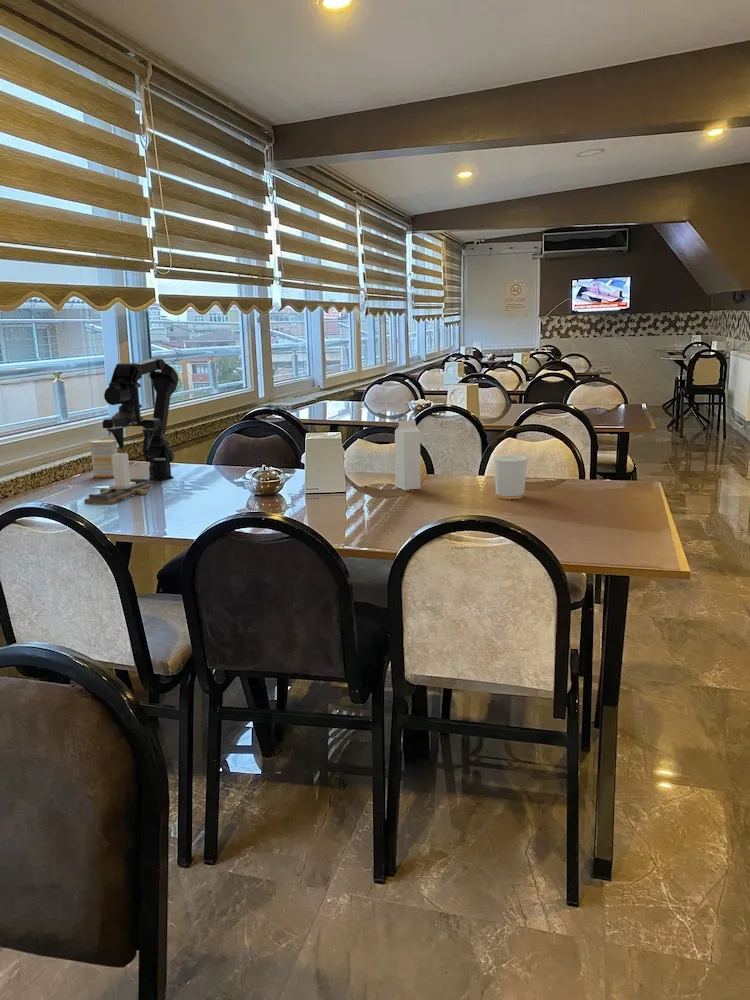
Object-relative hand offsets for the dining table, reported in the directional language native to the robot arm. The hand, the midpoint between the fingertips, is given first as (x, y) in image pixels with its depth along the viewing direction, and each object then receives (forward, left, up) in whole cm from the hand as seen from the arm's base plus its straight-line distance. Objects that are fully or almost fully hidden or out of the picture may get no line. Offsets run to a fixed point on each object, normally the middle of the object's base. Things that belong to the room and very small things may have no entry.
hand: (134, 449), depth 252 cm
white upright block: (+8, +4, -12) cm, 15 cm away
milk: (-54, +73, -13) cm, 92 cm away
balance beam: (+9, +5, -13) cm, 17 cm away
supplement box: (-4, -28, -13) cm, 31 cm away
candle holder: (-64, +105, -13) cm, 124 cm away
